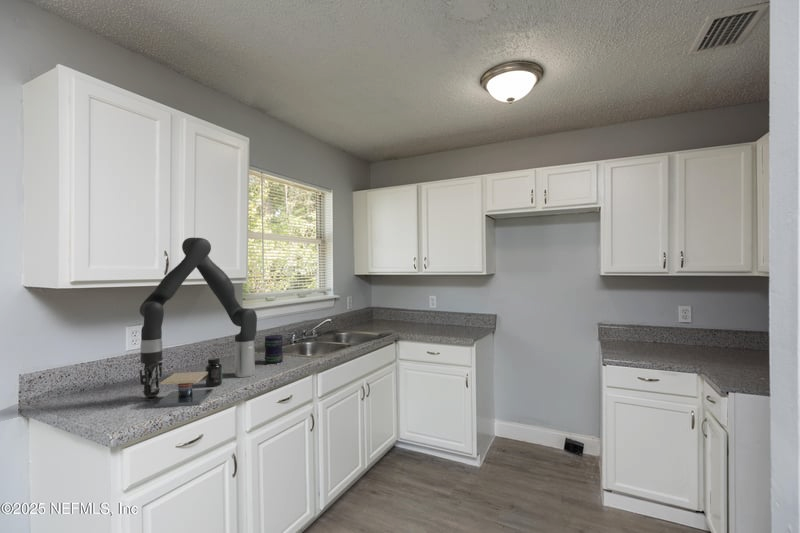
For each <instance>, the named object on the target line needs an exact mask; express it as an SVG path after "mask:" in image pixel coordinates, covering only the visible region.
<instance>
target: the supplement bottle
mask: <svg viewBox="0 0 800 533" xmlns="http://www.w3.org/2000/svg"><path fill="white" fill-rule="evenodd" d="M220 359H221V358H220V357H210V358H207V365H206V366H205V371H204V372H208V374H207V375H206V376H205V387H207V388H215V387H219V386H221V385H222V384H223V365H222V363H220V362H221V361H220Z"/></svg>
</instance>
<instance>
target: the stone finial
mask: <svg viewBox="0 0 800 533" xmlns="http://www.w3.org/2000/svg"><path fill="white" fill-rule="evenodd" d="M156 381H157V380H156V373H154V378H153V379H152V381H151V393H150V394H144V390H143V391H142V392H143V395H144V396H145V398H144V399H143V401H144V402H152V401H157V400H158V398H159V399H160V396H158V394H159V393H160V390H161V388H160V387H159V388H157V387H156ZM156 399H157V400H156Z"/></svg>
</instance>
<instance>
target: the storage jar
mask: <svg viewBox="0 0 800 533" xmlns="http://www.w3.org/2000/svg"><path fill="white" fill-rule="evenodd" d="M283 336H284V335H281V334H270V335H266V336H264V347H265V348H264V349H265V350H264V351H265V353H264V364H265V363H266V364H265V365H267V364H276V365H278V364H277V363H281V362H283V360H284V355H283V354H284V353H283V345H284V344H283V343H284V338H283ZM281 364H282V363H281Z"/></svg>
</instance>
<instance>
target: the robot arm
mask: <svg viewBox="0 0 800 533" xmlns="http://www.w3.org/2000/svg"><path fill="white" fill-rule="evenodd" d="M181 250H182V252H183V254H184V257H183V259H182V260H181V261H180V262H179V263H178V264H177V265H176V266H175V267H174V268H173V269H171V271H169V272H168V273H167V274H166V275H165V276H164V277H163V278H162V280H161V281H159V284H158V285H157V287H156V288H155V289H154V291H153V292H152V293H151V294H150V295H149V296H148V297H147V298H146V299H145V300H144V301H143V302H142V304H141V305H140V307H139V314H140V315H141V317H143V326H142V327H141V333H140V334H141V338H140V339H141V340H140V352H139V353H140V358H139V359H140V360H139V361H140V363H141V364H143V365H144V367H143V369H140V370H139V379H140V386H141V385H142V386H143V388H144V390H143V391H144V393H143V395H144V394H150V393H151V381H152V379H153V378H154V373H156V380H157V381H156V387H157V388H160V387H159V386H160V384H159V380H160V378H161V377H162V376H163V362H161V361H163V339H162V332H163V331H162V325H163V321H164V315H165V314H164V313H165V312H164V311H165V310H164V305H165V303H166V302H168V301H169V300H171V299H172V298H173V297H174V296H175V294H176V293H177V291H178V290H179V288H180V287H181V286H182V284H183V283H184V282H185V281H186V279H187V278H188V277H189V276H190V274H192V272H194V270H195V269H197V270H198V272H199V274H200V275H201V277H202V278H203V279H204V281H205V282H206V284H207V286H208V287H209V289H210V290H211V291H212V292H213V294H214V295H215V297H216V298H217V299H218V300H219V303H220V304H221V305H222V306H223V308H224V310H225V311H226V313H227V315H228V317H229V320H230V321H231V322H232V324H233V325H235V326H236V327H240V332H239V333H238V334H237V333H236V335H235V336H234V377H236V378H246V377H247V378H248V377H251V376H254V375H255V374H256V371H255V369H256V368H255V367H256V366H255V365H256V361H255V360H256V358H255V357H256V352H255V351H256V350H255V349H256V340H255V337H256V334H257V325H258V324H257V322H258V315H257V312H256V311H255V310H254V309H253V308H244V307H242V306H241V304H240V302H238V301H237V298H236V291H235V286H234V284H233V281H231V279H230V278H229V276H228V275H227V273H225V271H224V270H223V269H221V268H220V267H219V266H218V265H217V264H216V263H214V262H213V260H212V259H211V258H210V256H209V254H210V253H211V251H212V245H211V243H210V242H209V240H207V239H206V238H202V237H188V238H186V239H184V241H183V242H182V244H181Z"/></svg>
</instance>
